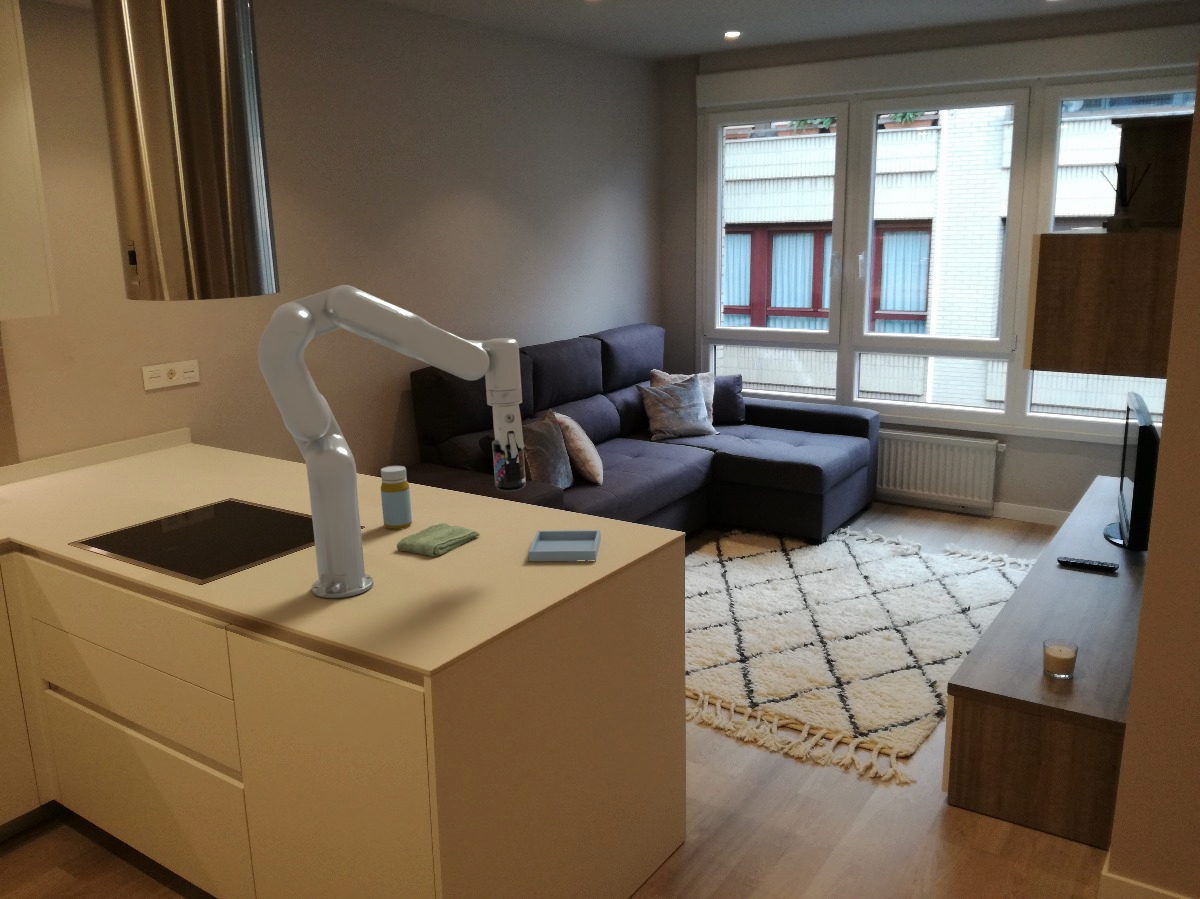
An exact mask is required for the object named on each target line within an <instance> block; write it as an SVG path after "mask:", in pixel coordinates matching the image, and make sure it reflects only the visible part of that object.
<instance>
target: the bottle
mask: <svg viewBox="0 0 1200 899" xmlns="http://www.w3.org/2000/svg"><path fill="white" fill-rule="evenodd" d="M380 477H381V485H380V496H381V497H380V498H381V506H382V519H383V526H384V527H385V528H386V529H388V528H389V530H394V529H396V530H402V529H401V528H404V529H407V528H409V527H410V526H411V524H412V523H413V517H412V504H411V493H410V492H411V491H410V484H409V482H408V479H407V468H406V467H405V466H403V465H389V466H385V467H382V468H381V469H380ZM406 527H407V528H406Z"/></svg>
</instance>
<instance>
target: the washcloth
mask: <svg viewBox="0 0 1200 899" xmlns="http://www.w3.org/2000/svg"><path fill="white" fill-rule="evenodd" d="M479 536H481V534H480V532H478V531H476V530H474V529H470V528H466V527H463V526H461V525H451V524H449V523H444V522H442V523H438V524H433V525H431V526H428V527H427V528H425V529H422V530H419V531H418V532H416V533H412V534H410V535H408V536H405V537H403V538H401V540H398V542H397V544H396V549H397V550H398V551H400V550H402V551H401V552H406V551H407V553H410V552H412V553H411V554H419V555H422V556H426V555H427V556H426V557H430V556H433V557H432V558H434V556H437V557H439V556H441V555H443V554H446V553H445V552H447V553H449V552H450V551H452V550H451V549H453V548H455V547H457V546H458V547H460V546H459V545H461V544H462V545H465V544H466V543H468V542H470V541H471V539H472V540H474V538H475V539H476V537H479ZM467 541H468V542H467ZM462 545H461V546H462ZM458 547H457V548H458ZM455 549H456V548H455ZM449 550H450V551H449ZM453 550H454V549H453ZM448 551H449V552H448ZM438 555H439V556H438Z"/></svg>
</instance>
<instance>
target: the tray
mask: <svg viewBox="0 0 1200 899" xmlns="http://www.w3.org/2000/svg"><path fill="white" fill-rule="evenodd" d="M601 535H602V534H601V529H590V530H588V529H586V530H585V529H583V530H582V529H581V530H579V529H578V530H577V529H576V530H575V529H574V530H573V529H572V530H570V529H569V530H568V529H567V530H566V529H565V530H537V531H536V532H535V536H534V538H533V540H532V543H531V544H530V548H529V550H528V562H529V561H568V562H578V561H577V560H585V561H584V562H589V561H588V560H595V561H594V562H597V558H596V557H598V554H597V553H599V550H600V545H599V544H601Z"/></svg>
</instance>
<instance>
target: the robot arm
mask: <svg viewBox="0 0 1200 899" xmlns="http://www.w3.org/2000/svg"><path fill="white" fill-rule="evenodd" d="M341 329H343V330H346V331H348V332H350V333H353V334H355V335H357V336H360V337H362V338H366V339H368V340H369V341H372V342H373V343H377V344H379V345H382V346H383V347H386V348H389V349H391V350H393V351H395V352H398V353H399V354H402V355H404V356H407V357H408V358H409V357H410V358H413V359H416V360H418V361H420V362H424V363H426V364H429V366H432V367H434V368H437V369H440V370H441V371H444V372H446V373H449V374H450V375H454V376H456V377H457V378H460V379H463V380H466V381H477V380H479V379H482V378H483V377H484V376H485V390H486V404H487V406H491V407H492V419H493V431H494V434H493V435H494V440H496V441H497V442H498V443H499V444H500V448H501V450H503V451H504V454H505V461H506V463H504V466H505V480H506V481H507V482H511V481H519V480H520V479H521V478H520V463H519V457H518V450H517V446H518V447H519V448H520V449H523V450H524V448H525V445H524V435H523V426H522V416H521V410H520V404H522V403H523V393H522V392H523V391H522V379H521V378H522V377H521V375H522V374H521V362H520V347H519V343H518V341H517V339H514V338H510V337H500V338H499V337H498V338H492V339H487V340H477V339H473V340H472V339H465V338H462V337H459V336H458V335H455V334H453V333H450V332H449V331H446V330H444V329H442V328H440V327H438V326H436V325H434V324H432V323H430V322H429V321H427V320H426V319H424V318H423V317H421V316H419V315H418V314H416V313H413V312H411V311H410V310H407V309H404V308H402V307H400V306H398V305H395V304H393V303H390V302H388V301H386V300H383V299H381V298H379V297H377V296H376V295H375V296H374V295H373V294H371V293H368V292H365V291H364V290H361V289H359V288H357V287H355V286H353V285H349V284H340V285H338V286H334V287H331V288H328V289H326V290H322V291H319V292H317V293H314V294H311V295H307V296H305V297H301V298H298V299H295V300H291V301H289V302H286V303H283V304H281V305H279V306H278V307H277V308H276V309H275V310H274V311H273V313H272V315H271V317H270V321H269V323H268V324H267V325H266V327H265V329H264V331H263V333H262V334H261V336H260V339H259V343H258V350H257V358H258V359H257V360H258V366H259V368H260V371H261V374H262V376H263V379H264V381H265V384H266V385H267V387H268V390H269V392H270V394H271V396H272V398H273V401H274V403H275V404H276V406H277V409H278V411H279V412H280V415H281V418H282V421H283V423H284V427H285V428H286V430H287V431H288V432H289V433H290V434H291V437H292V438H293V440H294V442H295V445H296V446H297V448H298V450H299V452H300V453H301V456H302V458H303V459H304V461H305V466H306V474H307V482H308V490H309V491H308V492H309V502H310V511H311V512H310V513H311V520H312V527H313V528H312V529H313V537H314V538H313V539H314V547H315V555H316V556H315V557H316V567H317V577H318V579H317V580H316V581H314V582H313V583H312V585H311V591H312V594H314V595H315V596H317V597H320V598H325V599H340V598H342V599H343V598H348V597H354V596H356V595H361V594H363V593H365V592H367V591H369V590H370V589H371V588H372V587H373V586H374V578H373V577H372V576H371V575H370V574H367V573H365V571H366V570H365V561H364V551H363V550H364V548H363V541H362V539H363V538H362V529H361V519H360V518H361V517H360V508H359V497H358V478H357V477H358V476H357V474H358V473H357V465H356V461H355V457H354V454H353V453H352V450H351V449H350V446H349V445H348V442H347V441H346V438H345V436H344V435H343V433H342V430H341V427H340V426H339V424H338V422H337V420H336V417H335V416H334V414H333V412H332V409H331V407H330V405H329V403H328V402H327V400H326V397H324V396H323V395H322V393H320V391H319V390H318V387H317V386H316V383H315V380H314V379H313V377H312V375H311V372H310V369H308V365H307V363H306V361H305V356H304V354H305V350H306V347H307V345H309V344H310V342H312V340H313V339H314V338H317V337H320V336H323V335H325V334H329V333H333V332H334V331H337V330H341ZM507 445H509V446H510V449H506V446H507ZM508 452H510V453H509V455H508Z"/></svg>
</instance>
